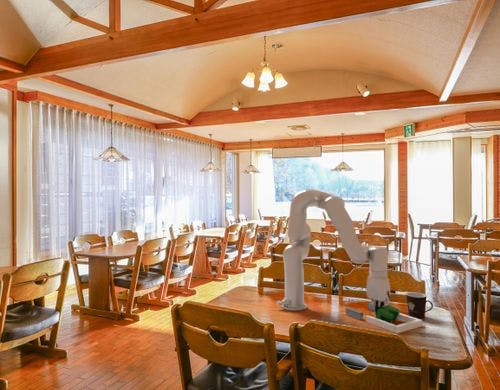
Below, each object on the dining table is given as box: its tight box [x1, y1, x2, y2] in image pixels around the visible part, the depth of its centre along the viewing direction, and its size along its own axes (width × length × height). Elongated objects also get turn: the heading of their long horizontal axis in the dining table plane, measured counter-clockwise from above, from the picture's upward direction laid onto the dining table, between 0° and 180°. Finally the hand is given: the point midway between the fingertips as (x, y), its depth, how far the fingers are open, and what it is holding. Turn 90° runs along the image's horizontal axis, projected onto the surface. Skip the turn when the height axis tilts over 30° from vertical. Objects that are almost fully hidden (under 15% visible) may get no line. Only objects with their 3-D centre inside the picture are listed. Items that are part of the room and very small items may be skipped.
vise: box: [345, 302, 387, 321], centre depth 172 cm, size 23×9×3 cm, turn 120°
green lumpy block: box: [374, 304, 401, 324], centre depth 160 cm, size 12×6×9 cm, turn 129°
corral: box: [365, 312, 423, 334], centre depth 157 cm, size 16×16×2 cm
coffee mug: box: [405, 291, 434, 320], centre depth 165 cm, size 12×9×10 cm
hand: (378, 314), depth 164 cm, fingers closed
